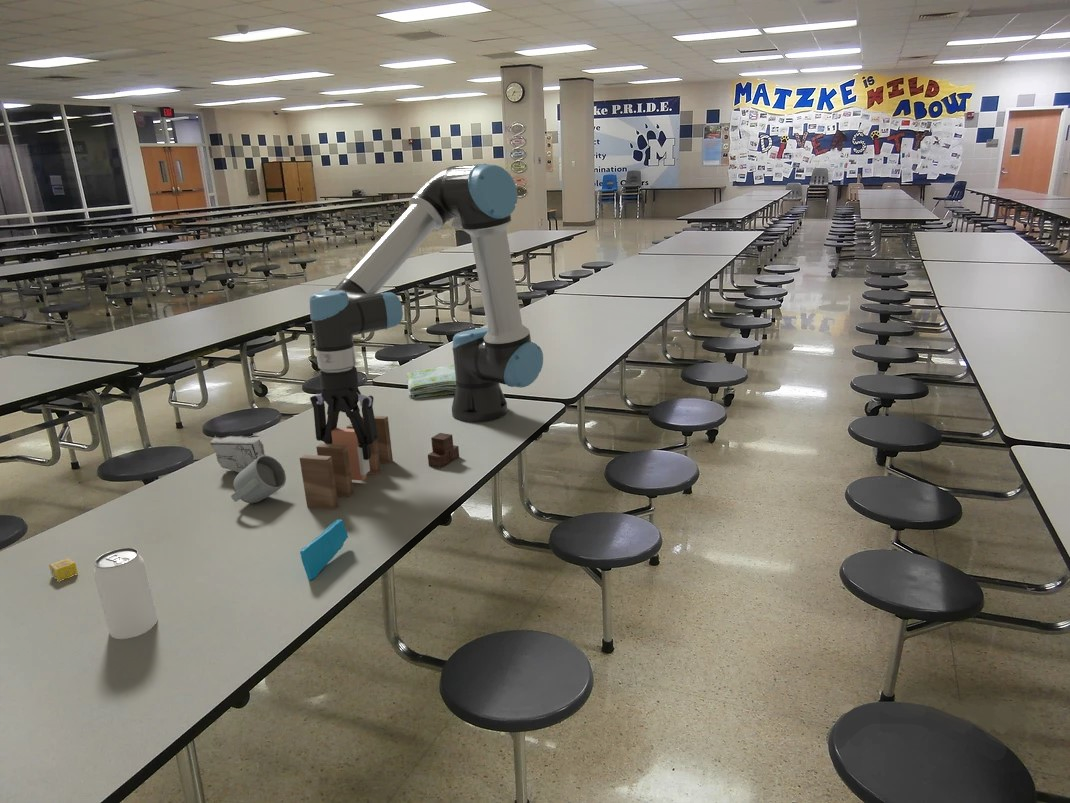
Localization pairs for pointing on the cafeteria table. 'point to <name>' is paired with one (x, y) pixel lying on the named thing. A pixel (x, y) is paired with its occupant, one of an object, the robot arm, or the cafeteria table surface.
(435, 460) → the stack of crates
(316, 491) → the domino
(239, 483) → the ceramic mug
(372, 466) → the domino
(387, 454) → the domino
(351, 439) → the domino
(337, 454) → the domino
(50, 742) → the cafeteria table surface
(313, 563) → the sponge
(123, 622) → the can
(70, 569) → the small yellow block
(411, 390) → the towel
